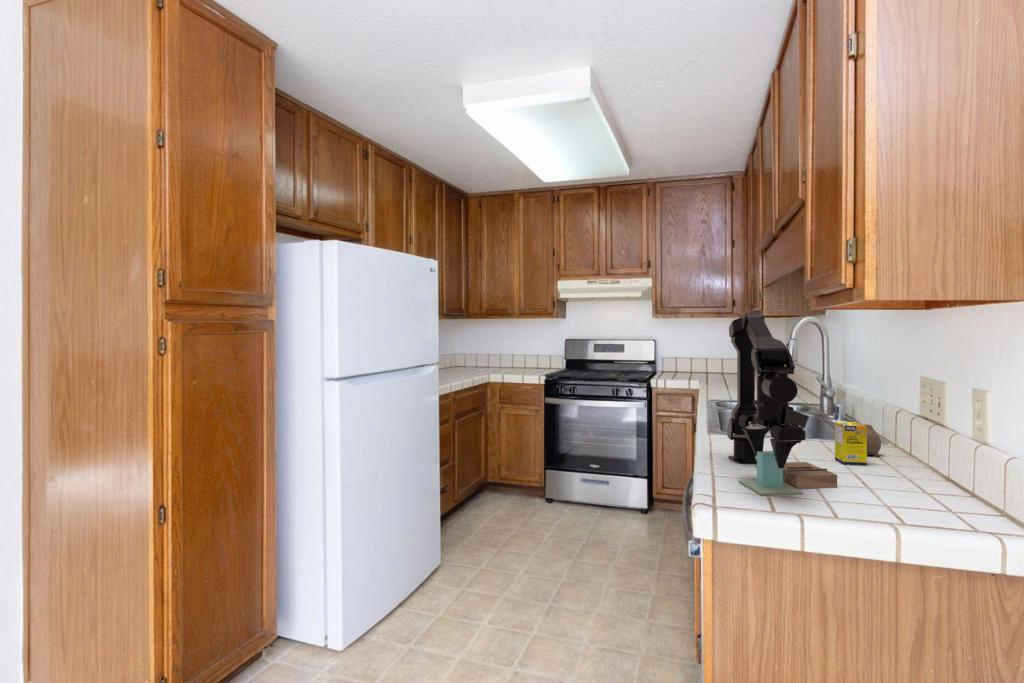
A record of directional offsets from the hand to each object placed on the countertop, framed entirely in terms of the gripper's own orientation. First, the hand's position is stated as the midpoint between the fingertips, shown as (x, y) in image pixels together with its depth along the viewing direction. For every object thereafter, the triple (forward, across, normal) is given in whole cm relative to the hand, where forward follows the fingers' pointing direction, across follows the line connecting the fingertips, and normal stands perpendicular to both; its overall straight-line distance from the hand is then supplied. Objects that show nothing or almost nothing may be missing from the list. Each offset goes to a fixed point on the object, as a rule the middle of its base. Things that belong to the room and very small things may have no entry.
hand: (769, 462), depth 124 cm
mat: (+6, 0, 0) cm, 6 cm away
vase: (+6, +28, -46) cm, 54 cm away
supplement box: (+6, +20, -35) cm, 41 cm away
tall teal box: (+6, 0, 0) cm, 6 cm away
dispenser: (+6, +5, -11) cm, 13 cm away
